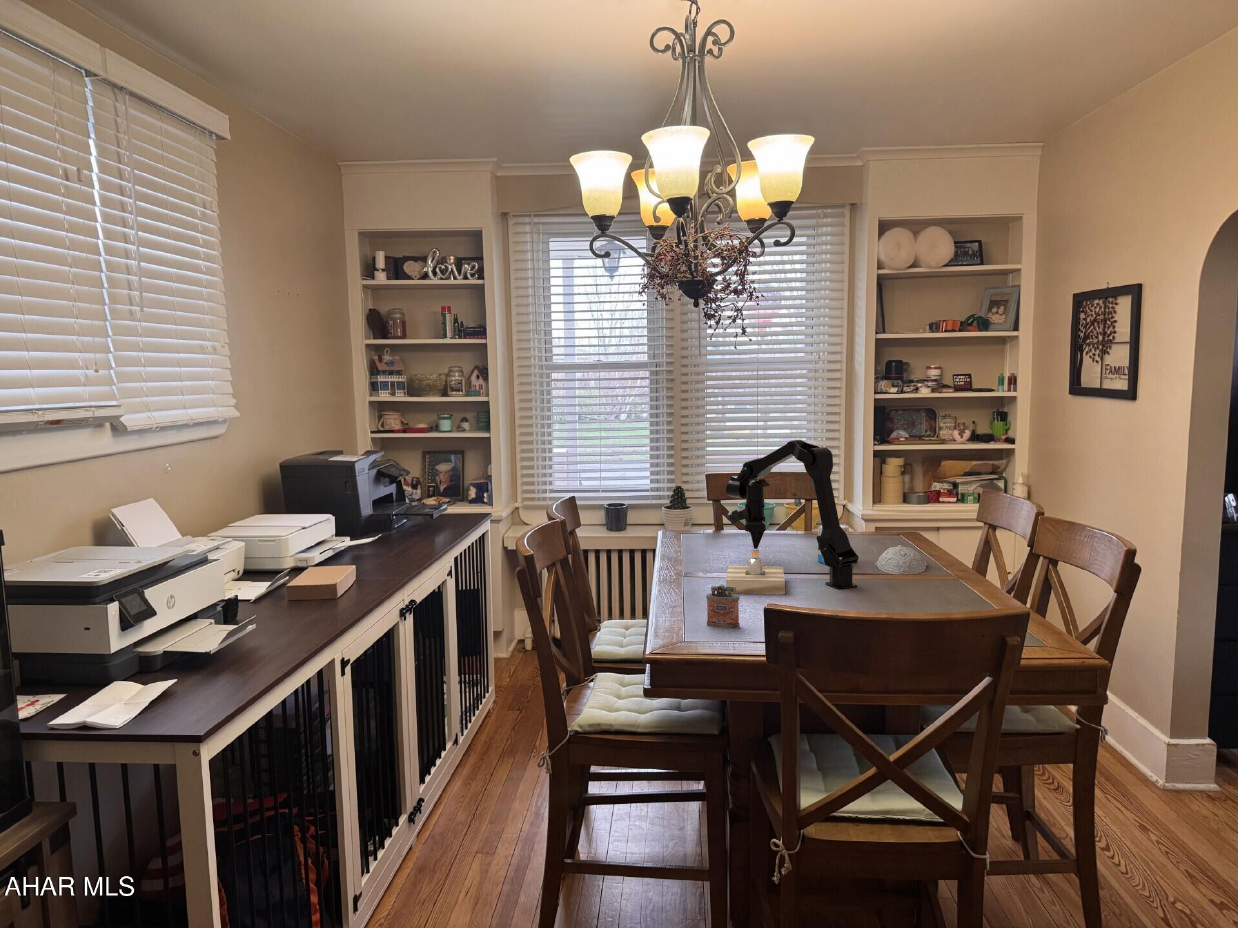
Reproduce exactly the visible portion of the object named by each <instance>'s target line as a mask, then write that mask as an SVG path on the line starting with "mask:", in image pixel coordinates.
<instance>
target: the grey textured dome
mask: <svg viewBox="0 0 1238 928" xmlns="http://www.w3.org/2000/svg"><path fill="white" fill-rule="evenodd" d="M874 564H875V565H876V566H877V568H879V570H880V571H883V572H884V573H888V574H893V575H915V574H920V573H924V571H926V570H927V566H928V563H927V562H926V560H924V558H923V557H922V556H921V555H920V553H919V552H917V551H916V550H915V549H914V548H911V547H908V546H907V547H906V546H903V545H900V544H899V545H897V546H893V547H889V548H887V549H886V550H885V551H884V552H883V553H882V554H881V555H880V556H879V558H878V560H877V561H876V562H875V563H874Z"/></svg>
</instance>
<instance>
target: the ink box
mask: <svg viewBox="0 0 1238 928" xmlns="http://www.w3.org/2000/svg"><path fill="white" fill-rule="evenodd" d="M839 524H840V527H841V528H842V529H843V530H844V532H845V533H846V534H847V537H848V539H849V537H850V534H849V533H850V532H849V531H850V527H849V526H846V525H844V524H841V523H839ZM817 531H818V532H817V533H818V534H817V536H819V535H821V533H822V525H820V526H818V529H817ZM849 540H850V539H849ZM839 559H842V557H840V558H839ZM817 563H820V564H823V565H825V563H824V559H823V556H822V554H821V552H820V550H818V549H817Z"/></svg>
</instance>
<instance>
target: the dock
mask: <svg viewBox="0 0 1238 928" xmlns="http://www.w3.org/2000/svg"><path fill="white" fill-rule="evenodd" d="M726 571H727V572H726V578H725V584H726V585H725V587H726V586H734V587H736V592H731V595H738V594H739V595H740V594H741V595H779V594H786V591H785V590H786V587H785V586H786V581H785V572H784V567H783V566H770V565H769V566H764V565H763V575H749V572H748V565H728V567H727V570H726ZM726 593H727V594H728V592H726Z"/></svg>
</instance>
